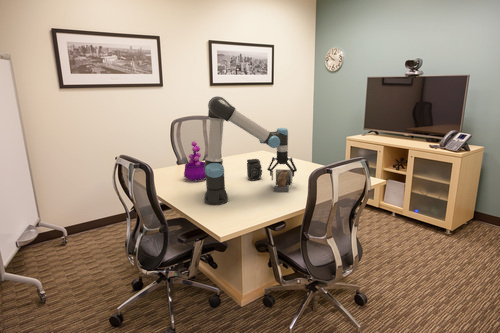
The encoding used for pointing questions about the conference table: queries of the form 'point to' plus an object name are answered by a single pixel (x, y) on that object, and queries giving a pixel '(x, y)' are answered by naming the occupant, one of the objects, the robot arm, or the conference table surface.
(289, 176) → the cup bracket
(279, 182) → the rail
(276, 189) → the rest block
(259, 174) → the camera
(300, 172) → the conference table surface
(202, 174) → the decorative plant
